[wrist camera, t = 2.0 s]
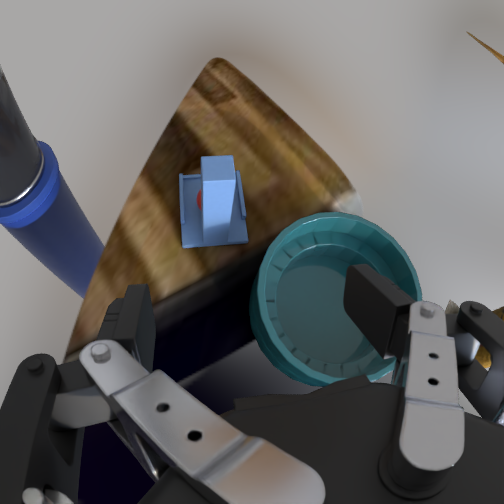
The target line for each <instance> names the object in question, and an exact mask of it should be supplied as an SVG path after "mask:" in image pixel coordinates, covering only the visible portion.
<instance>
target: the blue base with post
mask: <svg viewBox="0 0 504 504" xmlns="http://www.w3.org/2000/svg"><path fill="white" fill-rule="evenodd" d="M179 187H180V218H181V231H182V247H183V248H191V247H204V246H217V245H231V244H244V243H248V235H247V228H246V221H245V219H246V210H245V203H244V197H243V190H242V183H241V177H240V171H239V170H236V172H235V169H234V162H233V156H232V155H226V156H206V157H201V174H195V175H183V174H179ZM200 189H201V210H200V209H199V207H198V205H197V201H196V199H197V194H198V192H199V190H200Z"/></svg>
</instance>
